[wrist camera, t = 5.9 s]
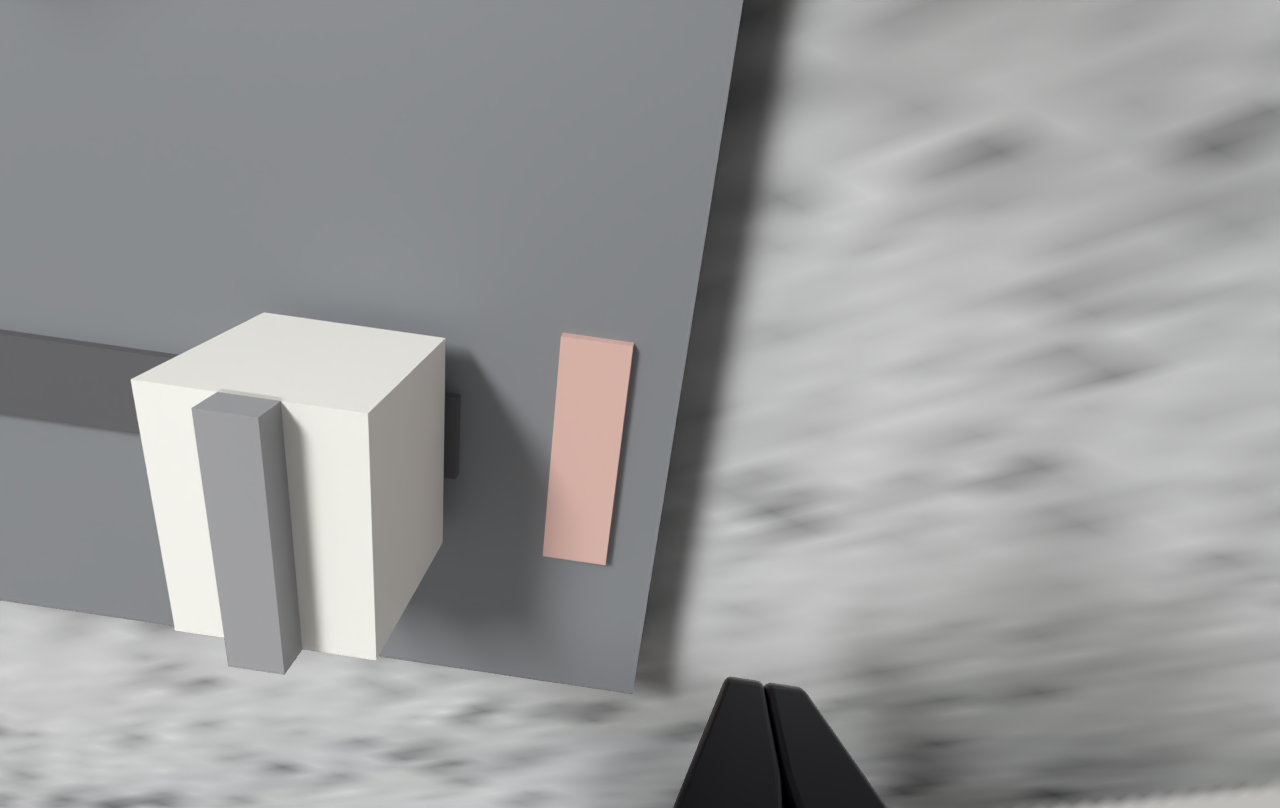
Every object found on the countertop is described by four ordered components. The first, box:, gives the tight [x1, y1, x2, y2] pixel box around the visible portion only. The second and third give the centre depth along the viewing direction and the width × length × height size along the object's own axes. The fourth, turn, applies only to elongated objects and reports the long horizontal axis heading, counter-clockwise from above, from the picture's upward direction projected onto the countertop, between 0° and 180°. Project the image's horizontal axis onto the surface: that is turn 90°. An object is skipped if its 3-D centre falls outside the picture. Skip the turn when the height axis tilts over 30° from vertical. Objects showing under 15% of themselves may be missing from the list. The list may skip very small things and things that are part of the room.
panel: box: [0, 0, 743, 694], centre depth 11 cm, size 18×23×2 cm
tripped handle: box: [131, 312, 446, 675], centre depth 11 cm, size 3×4×4 cm
